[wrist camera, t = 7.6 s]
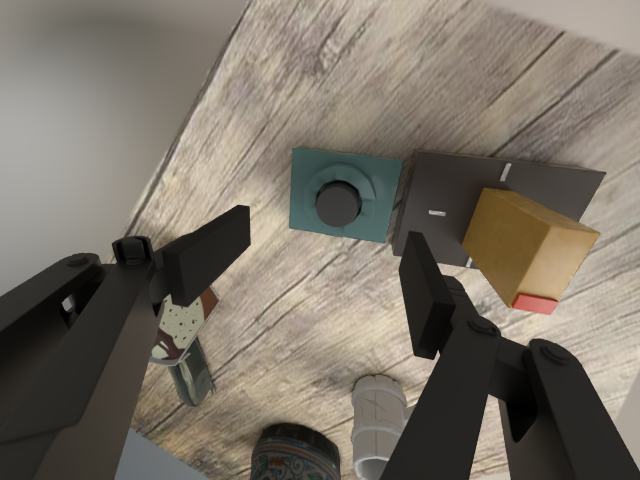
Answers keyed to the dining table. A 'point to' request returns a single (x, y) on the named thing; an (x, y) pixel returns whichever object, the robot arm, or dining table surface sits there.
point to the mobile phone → (192, 376)
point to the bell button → (337, 205)
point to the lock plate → (464, 192)
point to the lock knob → (525, 249)
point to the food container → (181, 328)
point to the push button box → (354, 170)
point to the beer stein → (294, 455)
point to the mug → (377, 423)
